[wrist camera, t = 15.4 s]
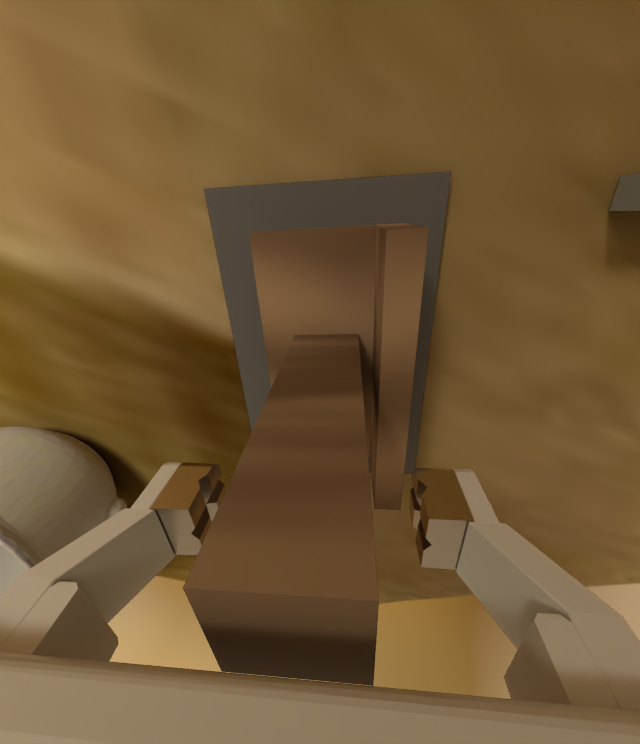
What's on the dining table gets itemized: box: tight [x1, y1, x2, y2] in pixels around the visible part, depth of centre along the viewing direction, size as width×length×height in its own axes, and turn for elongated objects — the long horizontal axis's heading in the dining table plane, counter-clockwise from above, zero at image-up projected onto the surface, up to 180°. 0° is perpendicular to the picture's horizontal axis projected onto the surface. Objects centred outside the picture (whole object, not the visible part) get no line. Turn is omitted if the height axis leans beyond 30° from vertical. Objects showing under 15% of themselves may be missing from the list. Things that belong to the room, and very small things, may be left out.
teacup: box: [0, 426, 127, 596], centre depth 19 cm, size 14×11×8 cm
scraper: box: [183, 223, 429, 685], centre depth 11 cm, size 12×6×12 cm, turn 3°
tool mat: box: [204, 172, 451, 474], centre depth 16 cm, size 16×10×1 cm, turn 3°
